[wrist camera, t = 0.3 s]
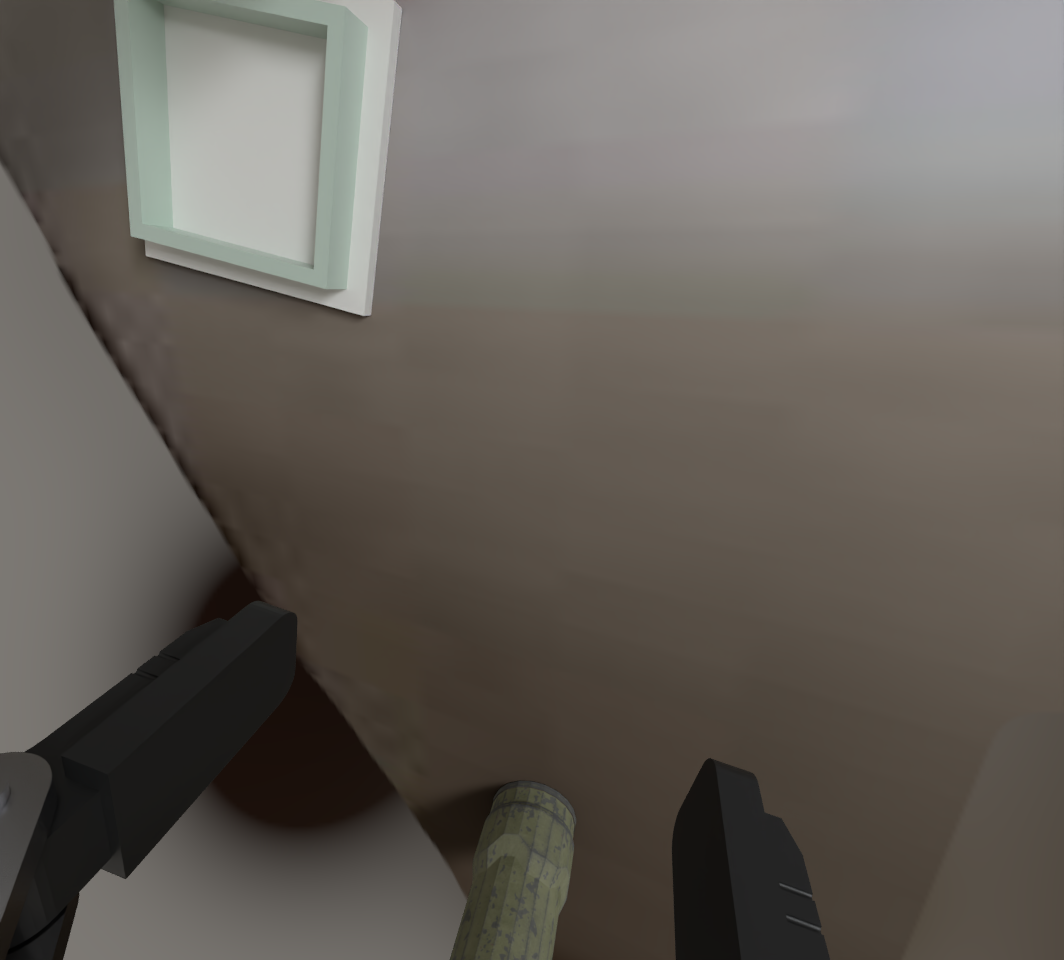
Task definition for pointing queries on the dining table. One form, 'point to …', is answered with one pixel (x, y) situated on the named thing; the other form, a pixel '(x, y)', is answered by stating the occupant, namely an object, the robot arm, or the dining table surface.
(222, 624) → the robot arm
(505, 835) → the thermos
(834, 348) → the dining table surface
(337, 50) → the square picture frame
